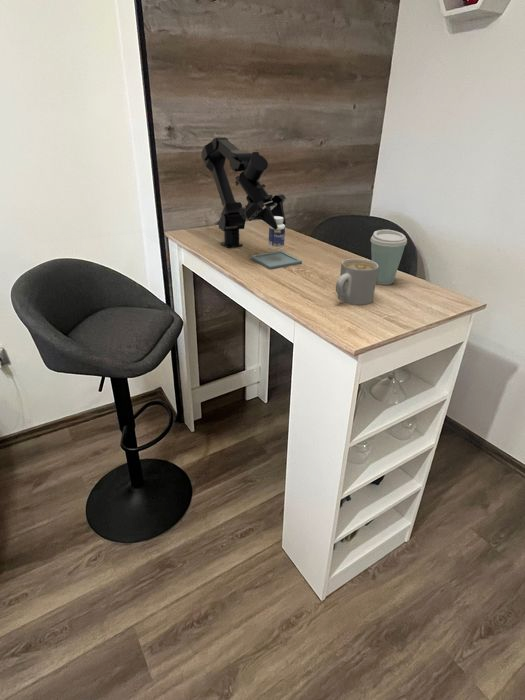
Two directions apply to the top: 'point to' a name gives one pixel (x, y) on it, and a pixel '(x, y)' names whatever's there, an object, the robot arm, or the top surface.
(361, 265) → the coffee mug
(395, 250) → the disposable coffee cup
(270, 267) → the tray
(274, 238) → the pill bottle
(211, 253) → the top surface
